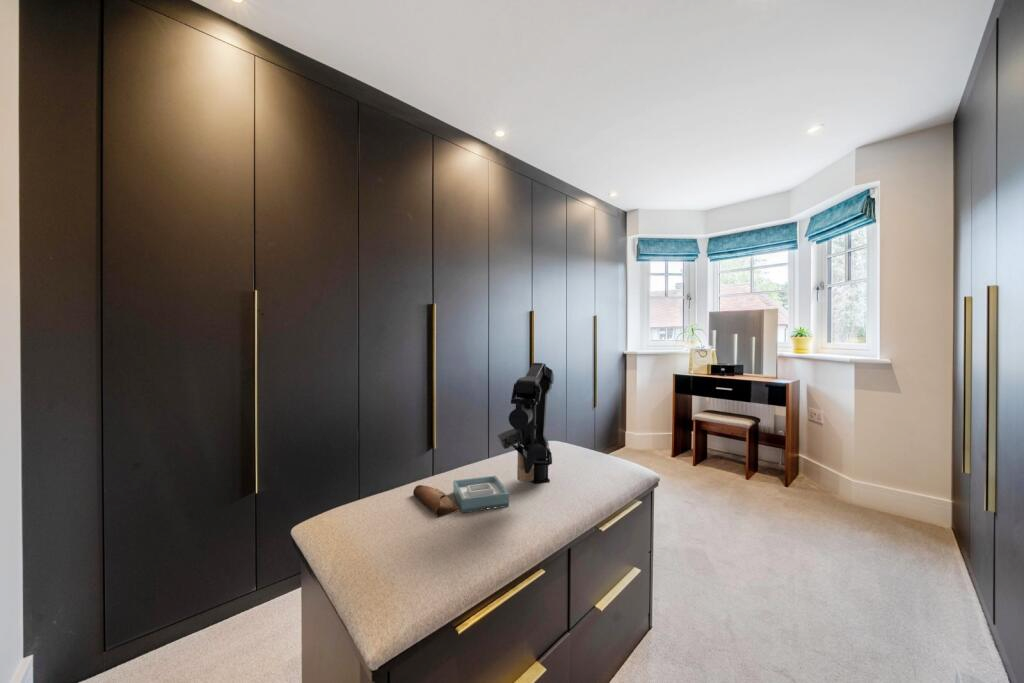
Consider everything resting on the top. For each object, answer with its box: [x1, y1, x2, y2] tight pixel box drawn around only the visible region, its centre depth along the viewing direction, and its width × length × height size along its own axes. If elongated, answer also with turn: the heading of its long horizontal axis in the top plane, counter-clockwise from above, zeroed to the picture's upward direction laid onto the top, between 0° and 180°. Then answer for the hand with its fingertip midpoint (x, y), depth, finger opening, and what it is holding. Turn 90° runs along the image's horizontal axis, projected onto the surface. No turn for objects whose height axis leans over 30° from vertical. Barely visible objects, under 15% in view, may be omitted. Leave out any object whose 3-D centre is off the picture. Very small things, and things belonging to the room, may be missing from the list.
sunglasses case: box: [413, 484, 460, 518], centre depth 118 cm, size 18×7×7 cm
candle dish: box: [452, 475, 510, 514], centre depth 121 cm, size 15×15×4 cm
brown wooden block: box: [516, 452, 534, 483], centre depth 116 cm, size 4×2×8 cm, turn 109°
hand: (525, 471), depth 116 cm, fingers closed on brown wooden block, 2 cm apart
